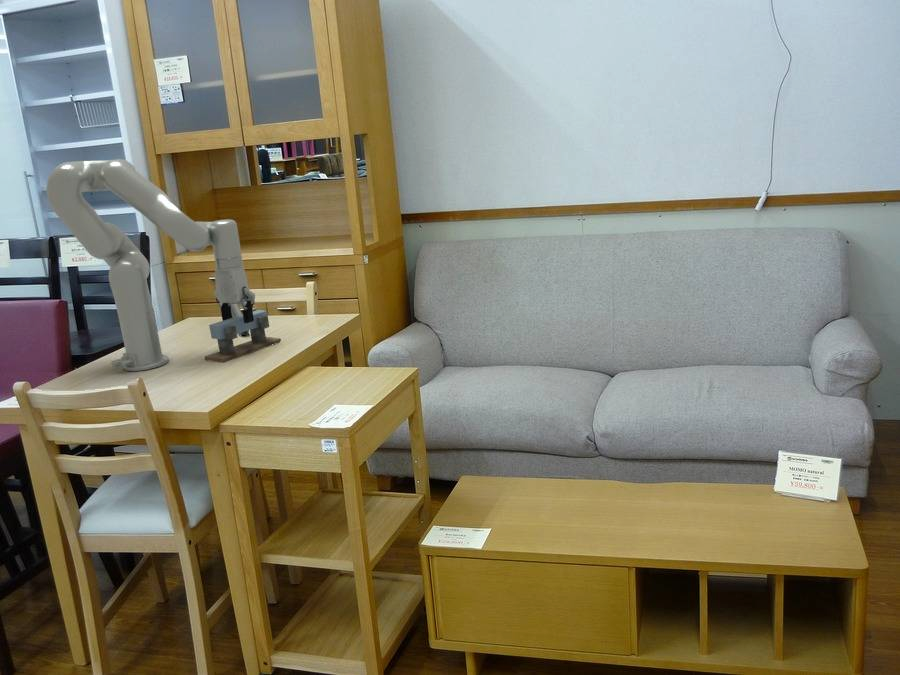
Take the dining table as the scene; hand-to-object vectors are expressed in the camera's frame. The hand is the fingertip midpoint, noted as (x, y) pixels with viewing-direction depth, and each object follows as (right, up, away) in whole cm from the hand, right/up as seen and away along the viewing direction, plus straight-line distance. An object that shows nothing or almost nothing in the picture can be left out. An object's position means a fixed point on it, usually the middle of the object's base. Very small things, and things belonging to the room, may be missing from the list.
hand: (238, 321), depth 237 cm
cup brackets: (+1, -9, +2) cm, 9 cm away
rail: (+1, -3, +1) cm, 3 cm away
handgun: (-9, -2, +33) cm, 35 cm away
